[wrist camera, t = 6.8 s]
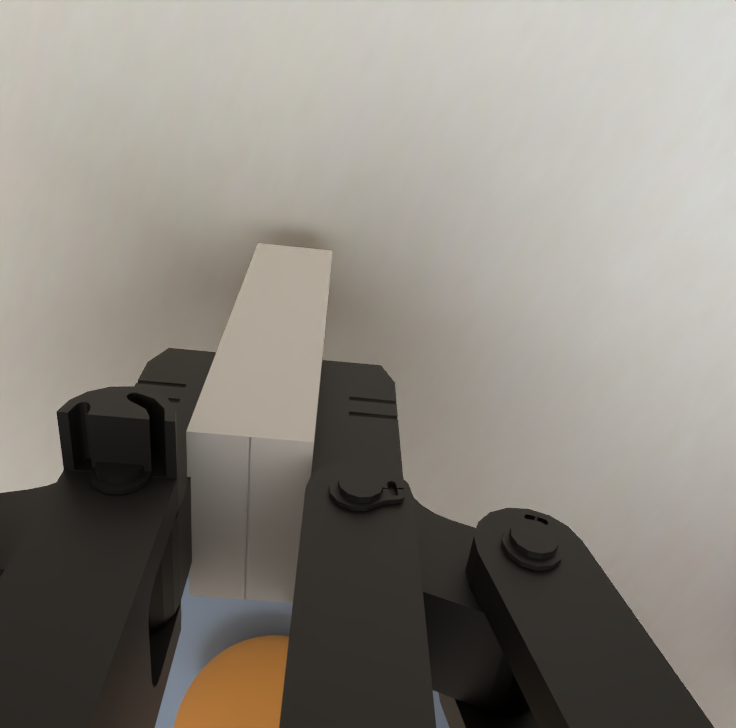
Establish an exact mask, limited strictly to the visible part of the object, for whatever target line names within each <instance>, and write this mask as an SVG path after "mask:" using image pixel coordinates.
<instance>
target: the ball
mask: <svg viewBox="0 0 736 728" xmlns="http://www.w3.org/2000/svg"><path fill="white" fill-rule="evenodd" d="M288 642H289V636H282V635H268V636H260V637H255V638H251V639H247V640H244V641H242V642H239V643H237V644H235V645H233V646H231V647H229V648H227V649H226V650H224V651H222V652H221V653H220V654H219V655H217V656H216V657H215V658H213V659H212V660H211V661H210V662H209V663H208V664H207V665H206V666H205V667H204V668H203V669H202V670H201V671H200V673H199V674H198V675H197V676H196V678H195V679H194V680H193V682H192V683H191V685H190V687H189V688H188V690H187V692H186V694H185V696H184V698H183V700H182V702H181V705H180V707H179V710H178V713H177V716H176V719H175V723H174V728H279V724H280V715H281V706H282V697H283V688H284V679H285V669H286V660H287V651H288Z"/></svg>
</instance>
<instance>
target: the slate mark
mask: <svg viewBox="0 0 736 728" xmlns="http://www.w3.org/2000/svg"><path fill="white" fill-rule="evenodd" d="M292 606H293V603H288V602H274V601H259V600H245V599H231V598H217V597H202V596H189V574H188V578H187V581H186V585H185V588H184V592H183V595H182V598H181V614H182V615H181V632H180V636H179V639H178V643H177V647H176V650H175V654H174V658H173V662H172V665H171V669H170V673H169V676H168V680H167V684H166V688H165V691H164V695H163V699H162V702H161V706H160V710H159V714H158V717H157V721H156V725H155V728H174V723H175V719H176V716H177V713H178V710H179V707H180V705H181V702H182V700H183V698H184V696H185V694H186V692H187V690H188V688H189V687H190V685H191V683H192V682H193V680H194V679H195V678H196V676H197V675H198V674H199V673H200V671H201V670H202V669H203V668H204V667H205V666H206V665H207V664H208V663H209V662H210V661H211V660H212V659H213V658H215V657H216V656H217V655H219V654H220V653H221V652H222V651H224V650H226V649H227V648H229V647H231V646H233V645H235V644H237V643H239V642H242V641H244V640H247V639H251V638H255V637H260V636H268V635H282V636H289V633H290V624H291V615H292ZM433 699H434V709H435V720H436V728H449V725H448V722H447V720H446V717H445V714H444V712H443V709H442V706H441V703H440V699H439V693H438V692H436V691H433Z"/></svg>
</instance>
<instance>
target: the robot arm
mask: <svg viewBox="0 0 736 728" xmlns="http://www.w3.org/2000/svg"><path fill="white" fill-rule="evenodd" d="M332 252H333V251H331V250H322V249H312V248H302V247H292V246H283V245H273V244H263V243H258V244H257V247H256V249H255V252H254V255H253V257H252V260H251V262H250V265H249V268H248V270H247V273H246V276H245V278H244V281H243V283H242V286H241V289H240V291H239V294H238V297H237V299H236V302H235V304H234V307H233V310H232V312H231V315H230V318H229V320H228V323H227V325H226V328H225V331H224V333H223V336H222V339H221V341H220V344H219V347H218V349H217V352H206V351H195V350H184V349H173V348H168V349H167V350H165V351H164V352H162V353H161V354H159V355H158V356H156V357H155V358H153V359H152V360H150V361H149V362H148V363H147V365H146V367H145V368H144V370H143V372H142V374H141V376H140V377H139V379H138V384H137V383H136V385H135V387H108V388H103V389H98V390H93V391H89V392H86V393H84V394H82V395H80V396H77V397H75V398H73V399H71V400H69V401H68V402H67V403H66V404H65V405H63V406H62V407H61V408H60V409H59V410H58V411H57V419H58V427H59V434H60V442H61V450H62V458H63V466H64V471H63V473H62V474H61V476H60V478H59V479H58V481H57V483H54V484H51V485H48V486H44V487H39V488H34V489H29V490H21V491H14V492H6V493H0V728H155V725H156V721H157V717H158V714H159V710H160V706H161V702H162V699H163V695H164V691H165V688H166V684H167V680H168V676H169V673H170V669H171V665H172V662H173V658H174V654H175V650H176V647H177V643H178V639H179V636H180V632H181V615H182V614H181V598H182V595H183V592H184V588H185V585H186V581H187V578H188V574H189V596H202V597H217V598H231V599H245V600H259V601H274V602H288V603H293V606H292V615H291V624H290V633H289V642H288V651H287V660H286V669H285V679H284V688H283V697H282V706H281V715H280V724H279V728H436V720H435V709H434V699H433V691H436V692H438V693H439V699H440V703H441V706H442V709H443V712H444V714H445V717H446V720H447V722H448V725H449V728H714V727H713V725H712V724H711V723H710V721H709V720H708V718H707V717H706V716H705V714H704V713H703V711H702V710H701V708H700V707H699V706H698V704H697V703H696V701H695V700H694V699H693V697H692V696H691V694H690V693H689V691H688V690H687V689H686V687H685V686H684V684H683V683H682V682H681V680H680V679H679V677H678V676H677V674H676V673H675V672H674V670H673V669H672V667H671V666H670V665H669V663H668V662H667V660H666V659H665V657H664V656H663V655H662V653H661V652H660V650H659V649H658V648H657V646H656V645H655V643H654V642H653V640H652V639H651V638H650V636H649V635H648V633H647V632H646V631H645V629H644V628H643V626H642V625H641V624H640V622H639V621H638V619H637V618H636V616H635V615H634V614H633V612H632V611H631V609H630V608H629V607H628V605H627V604H626V602H625V601H624V599H623V598H622V597H621V595H620V594H619V592H618V591H617V590H616V588H615V587H614V585H613V584H612V582H611V581H610V580H609V578H608V577H607V575H606V574H605V573H604V571H603V570H602V568H601V567H600V565H599V564H598V563H597V561H596V560H595V558H594V557H593V556H592V554H591V553H590V551H589V550H588V548H587V547H586V546H585V544H584V543H583V541H582V540H581V539H580V538H579V537H578V536H577V535H576V534H575V533H574V532H573V531H572V530H571V529H570V528H569V527H568V526H566V525H564V524H563V523H561V522H559V521H558V520H556V519H554V518H553V517H551V516H549V515H546V514H543V513H539V512H536V511H533V510H530V509H519V508H505V509H501V510H498V511H494V512H490V513H489V514H488V515H486V516H485V517H484V518H483V519H482V520H480V521H479V522H478V525H477V528H474V527H471V526H467V525H464V524H461V523H458V522H455V521H452V520H449V519H447V518H444V517H442V516H439V515H437V514H435V513H433V512H431V511H430V510H428V509H427V508H425V507H423V506H422V505H421V504H420V503H419V502H418V501H417V500H416V499H414V498H413V495H412V492H411V490H410V487H409V485H408V483H407V482H406V481H405V480H404V479H403V473H402V462H401V450H400V439H399V427H398V420H397V416H398V415H397V404H396V392H395V382H394V381H393V380H392V379H391V377H390V376H389V375H388V374H387V372H386V371H385V370H384V369H383V367H382V366H380V365H370V364H359V363H348V362H337V361H326V360H323V350H324V339H325V328H326V317H327V306H328V296H329V285H330V274H331V263H332Z"/></svg>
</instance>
